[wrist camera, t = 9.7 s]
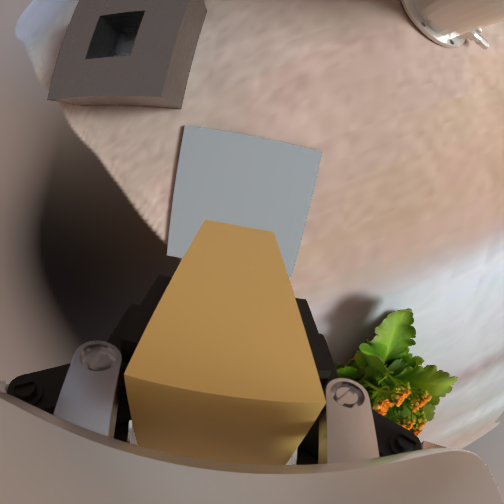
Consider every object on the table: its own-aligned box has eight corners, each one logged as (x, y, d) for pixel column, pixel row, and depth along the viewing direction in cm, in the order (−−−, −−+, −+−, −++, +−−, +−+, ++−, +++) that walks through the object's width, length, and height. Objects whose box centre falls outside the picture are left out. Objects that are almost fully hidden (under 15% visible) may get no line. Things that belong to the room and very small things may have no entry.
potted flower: (443, 349, 43) (486, 408, 26) (355, 420, 49) (376, 485, 32) (385, 280, 37) (451, 356, 20) (273, 378, 43) (282, 469, 26)
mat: (320, 151, 31) (322, 151, 30) (290, 275, 36) (291, 277, 36) (185, 125, 29) (184, 125, 29) (168, 253, 35) (166, 255, 34)
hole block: (207, 11, 24) (197, -21, 16) (181, 108, 29) (161, 97, 21) (109, 15, 23) (82, -7, 15) (83, 105, 27) (47, 99, 20)
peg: (273, 232, 16) (325, 403, 5) (259, 292, 17) (275, 477, 6) (205, 219, 16) (123, 374, 5) (196, 281, 17) (141, 459, 6)
